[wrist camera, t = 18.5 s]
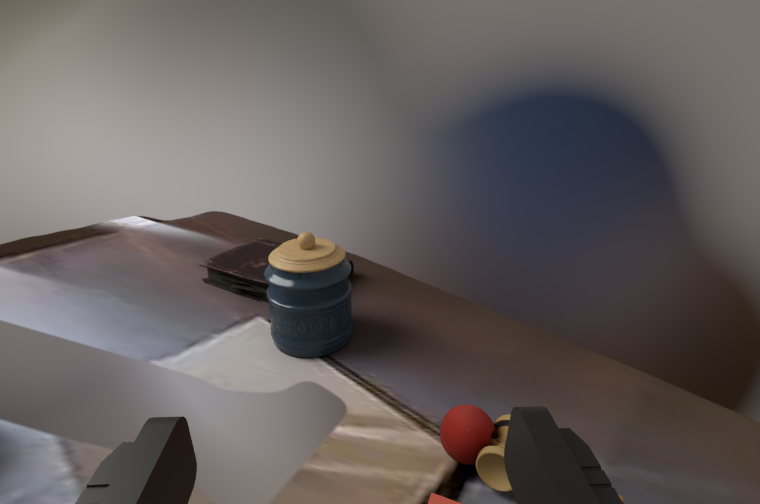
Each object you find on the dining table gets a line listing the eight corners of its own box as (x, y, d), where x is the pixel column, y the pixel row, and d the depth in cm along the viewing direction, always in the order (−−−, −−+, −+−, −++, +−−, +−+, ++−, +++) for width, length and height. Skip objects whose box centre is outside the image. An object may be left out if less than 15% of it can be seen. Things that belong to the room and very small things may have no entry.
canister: (254, 340, 67) (240, 236, 60) (311, 306, 77) (304, 213, 70) (315, 371, 60) (307, 257, 53) (369, 329, 70) (368, 228, 63)
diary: (265, 255, 100) (263, 235, 98) (354, 279, 88) (353, 257, 87) (199, 285, 85) (195, 262, 83) (295, 319, 74) (293, 293, 72)
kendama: (612, 492, 44) (454, 409, 52) (635, 461, 41) (461, 376, 48) (599, 566, 39) (425, 461, 46) (624, 538, 35) (430, 429, 43)
